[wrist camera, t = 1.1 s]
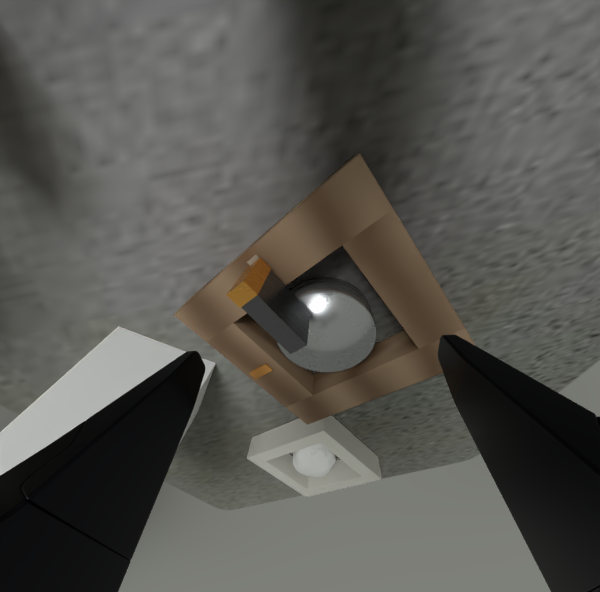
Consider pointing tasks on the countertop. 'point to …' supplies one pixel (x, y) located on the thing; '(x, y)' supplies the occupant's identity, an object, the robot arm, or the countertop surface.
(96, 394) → the milk
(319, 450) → the garlic
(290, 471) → the frame
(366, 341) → the dial
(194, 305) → the surround
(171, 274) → the countertop surface
